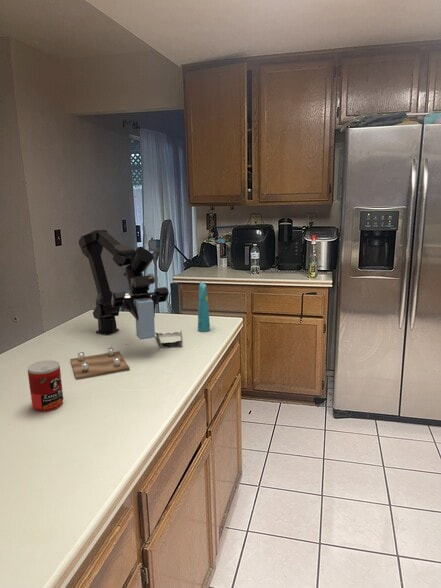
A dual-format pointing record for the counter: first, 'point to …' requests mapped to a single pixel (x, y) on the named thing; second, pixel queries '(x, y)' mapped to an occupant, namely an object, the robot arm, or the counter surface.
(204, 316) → the tube
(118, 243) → the robot arm
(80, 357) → the peg stand
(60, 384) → the canned food
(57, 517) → the counter surface
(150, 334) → the slate blue block
